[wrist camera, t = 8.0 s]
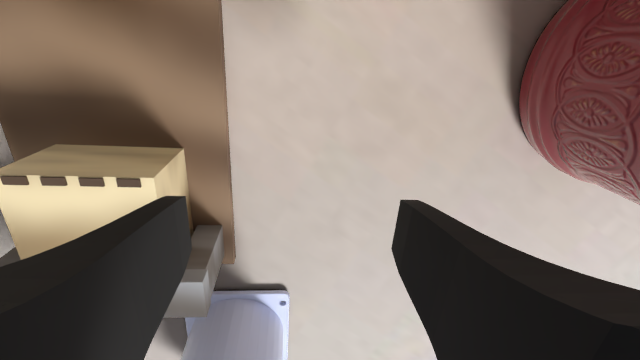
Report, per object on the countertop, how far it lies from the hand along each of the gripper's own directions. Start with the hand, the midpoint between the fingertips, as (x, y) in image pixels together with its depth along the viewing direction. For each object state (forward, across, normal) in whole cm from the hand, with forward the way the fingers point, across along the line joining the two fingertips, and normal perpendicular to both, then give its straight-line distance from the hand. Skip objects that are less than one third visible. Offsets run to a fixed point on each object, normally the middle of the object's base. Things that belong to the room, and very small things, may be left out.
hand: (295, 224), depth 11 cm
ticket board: (+10, +10, 0) cm, 14 cm away
